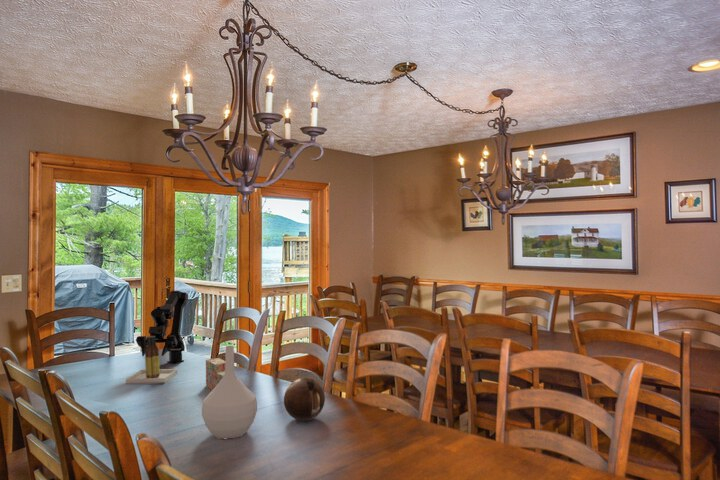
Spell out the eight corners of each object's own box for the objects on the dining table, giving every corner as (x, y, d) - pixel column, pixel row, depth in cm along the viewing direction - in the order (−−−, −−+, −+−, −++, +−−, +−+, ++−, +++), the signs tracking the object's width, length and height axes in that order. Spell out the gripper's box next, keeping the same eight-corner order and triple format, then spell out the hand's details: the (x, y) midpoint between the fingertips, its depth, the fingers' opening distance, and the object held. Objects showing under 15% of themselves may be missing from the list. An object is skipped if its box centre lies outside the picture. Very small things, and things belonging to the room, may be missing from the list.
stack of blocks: (236, 395, 213) (236, 366, 214) (221, 397, 210) (221, 368, 210) (219, 383, 231) (218, 357, 231) (205, 386, 227) (205, 359, 227)
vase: (235, 420, 182) (235, 339, 182) (268, 432, 170) (268, 345, 170) (190, 435, 168) (190, 347, 168) (223, 449, 156) (222, 354, 156)
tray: (141, 373, 249) (141, 369, 249) (177, 373, 250) (177, 368, 250) (125, 383, 231) (125, 379, 231) (165, 383, 232) (165, 378, 232)
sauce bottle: (160, 374, 245) (160, 334, 245) (159, 378, 239) (158, 336, 239) (145, 376, 243) (145, 335, 243) (144, 379, 237) (144, 337, 237)
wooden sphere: (280, 415, 187) (280, 375, 187) (318, 410, 192) (318, 371, 192) (288, 429, 173) (288, 386, 173) (329, 423, 178) (329, 381, 178)
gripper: (137, 319, 245) (127, 346, 234) (175, 319, 246) (167, 346, 235) (143, 332, 253) (134, 359, 242) (180, 332, 254) (173, 359, 243)
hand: (152, 355), depth 240 cm, fingers open, 9 cm apart
